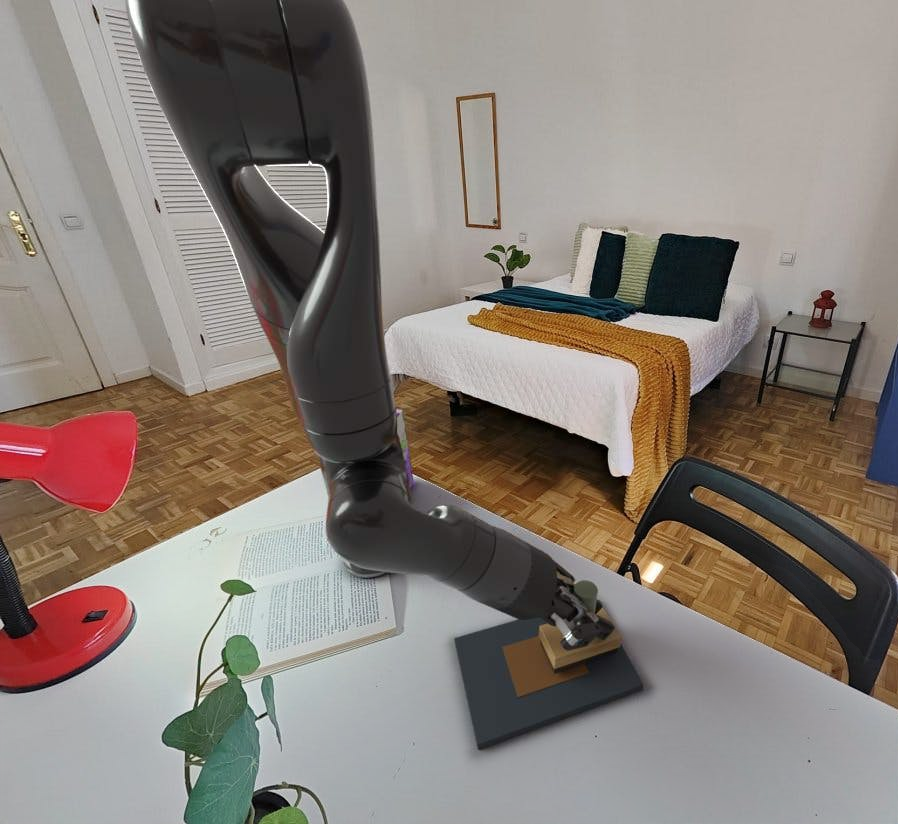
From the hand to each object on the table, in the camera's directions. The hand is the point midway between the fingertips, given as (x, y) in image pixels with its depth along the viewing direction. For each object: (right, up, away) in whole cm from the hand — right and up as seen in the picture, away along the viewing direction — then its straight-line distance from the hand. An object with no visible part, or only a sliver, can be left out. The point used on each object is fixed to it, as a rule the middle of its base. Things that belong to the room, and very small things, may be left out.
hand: (602, 620), depth 61 cm
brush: (-3, -4, +1) cm, 5 cm away
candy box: (-37, +9, +29) cm, 48 cm away
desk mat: (-7, -6, 0) cm, 9 cm away
